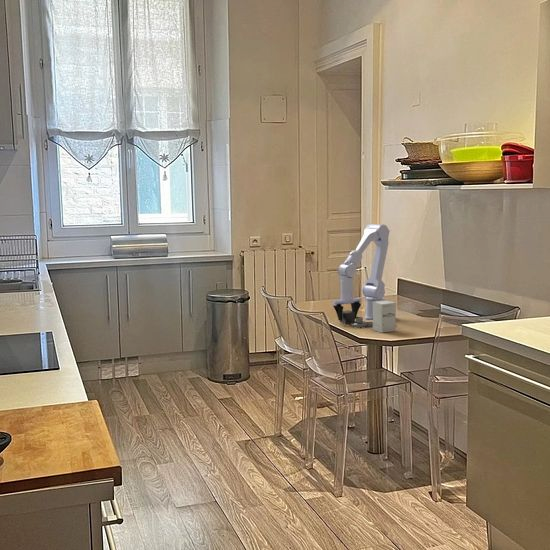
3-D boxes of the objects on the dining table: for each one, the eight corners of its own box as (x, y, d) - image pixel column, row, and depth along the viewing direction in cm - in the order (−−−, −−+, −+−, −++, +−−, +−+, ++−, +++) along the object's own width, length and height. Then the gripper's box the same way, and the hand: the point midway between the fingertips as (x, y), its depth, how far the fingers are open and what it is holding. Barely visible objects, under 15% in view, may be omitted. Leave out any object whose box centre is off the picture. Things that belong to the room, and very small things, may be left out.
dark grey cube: (348, 320, 327) (348, 310, 326) (354, 322, 323) (354, 311, 322) (339, 322, 325) (339, 311, 324) (345, 324, 320) (345, 313, 320)
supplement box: (381, 333, 300) (381, 304, 299) (372, 329, 307) (372, 301, 305) (396, 331, 303) (396, 302, 301) (386, 328, 310) (386, 299, 308)
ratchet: (393, 323, 319) (393, 315, 318) (395, 327, 311) (395, 318, 310) (350, 324, 320) (350, 315, 319) (351, 328, 312) (351, 319, 311)
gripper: (338, 292, 315) (338, 322, 317) (365, 289, 321) (365, 318, 323) (329, 290, 321) (330, 320, 323) (356, 287, 328) (356, 316, 329)
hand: (347, 319), depth 324 cm, fingers open, 7 cm apart
